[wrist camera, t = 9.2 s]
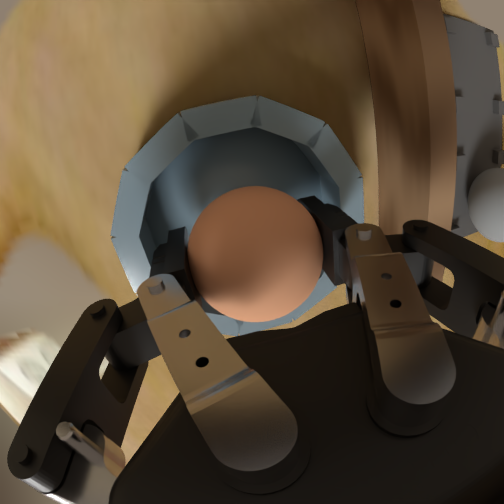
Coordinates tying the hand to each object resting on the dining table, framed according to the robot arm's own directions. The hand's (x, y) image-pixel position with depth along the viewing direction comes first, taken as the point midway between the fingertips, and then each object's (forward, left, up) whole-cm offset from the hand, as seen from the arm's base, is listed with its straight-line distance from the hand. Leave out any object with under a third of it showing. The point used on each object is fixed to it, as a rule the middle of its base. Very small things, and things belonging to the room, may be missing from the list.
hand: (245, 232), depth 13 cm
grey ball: (+2, +17, 0) cm, 17 cm away
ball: (0, 0, +2) cm, 2 cm away
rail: (-3, +9, -2) cm, 10 cm away
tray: (-3, +17, -2) cm, 17 cm away
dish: (0, 0, -2) cm, 2 cm away
